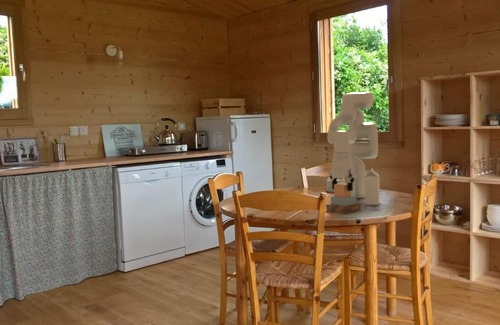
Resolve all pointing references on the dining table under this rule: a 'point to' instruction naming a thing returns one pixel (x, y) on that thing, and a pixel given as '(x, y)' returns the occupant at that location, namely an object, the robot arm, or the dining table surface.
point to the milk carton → (371, 188)
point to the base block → (343, 208)
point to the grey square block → (343, 200)
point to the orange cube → (341, 190)
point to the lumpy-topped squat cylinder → (329, 184)
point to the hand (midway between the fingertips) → (342, 189)
